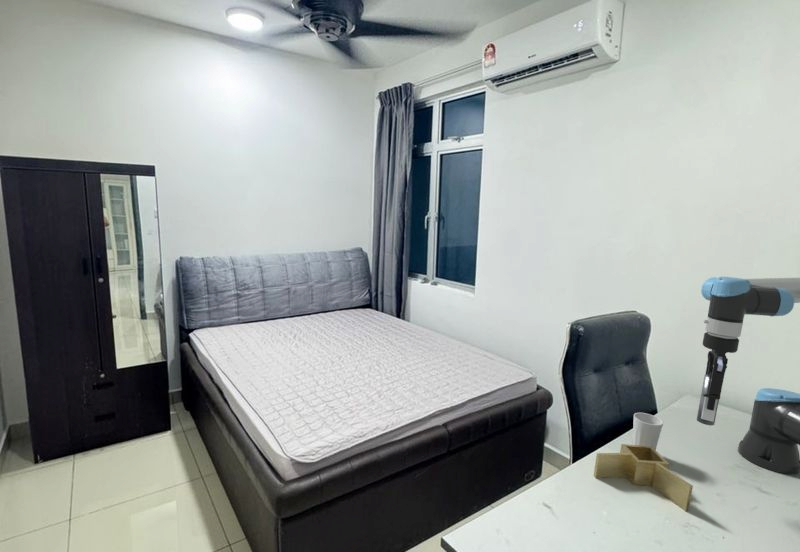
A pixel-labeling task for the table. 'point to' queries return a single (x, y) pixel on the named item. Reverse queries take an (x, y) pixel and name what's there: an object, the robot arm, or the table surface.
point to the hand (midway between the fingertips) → (706, 416)
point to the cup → (646, 430)
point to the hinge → (644, 472)
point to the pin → (704, 391)
